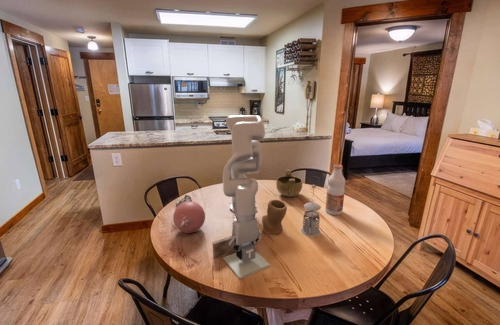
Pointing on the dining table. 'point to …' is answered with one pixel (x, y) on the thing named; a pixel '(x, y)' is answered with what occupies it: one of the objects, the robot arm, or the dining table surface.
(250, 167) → the robot arm
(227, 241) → the walnut screen
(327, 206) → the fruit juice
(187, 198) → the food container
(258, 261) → the display mat
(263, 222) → the stone cup
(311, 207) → the french press
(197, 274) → the dining table surface
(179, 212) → the balloon
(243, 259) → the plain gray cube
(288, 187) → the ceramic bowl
